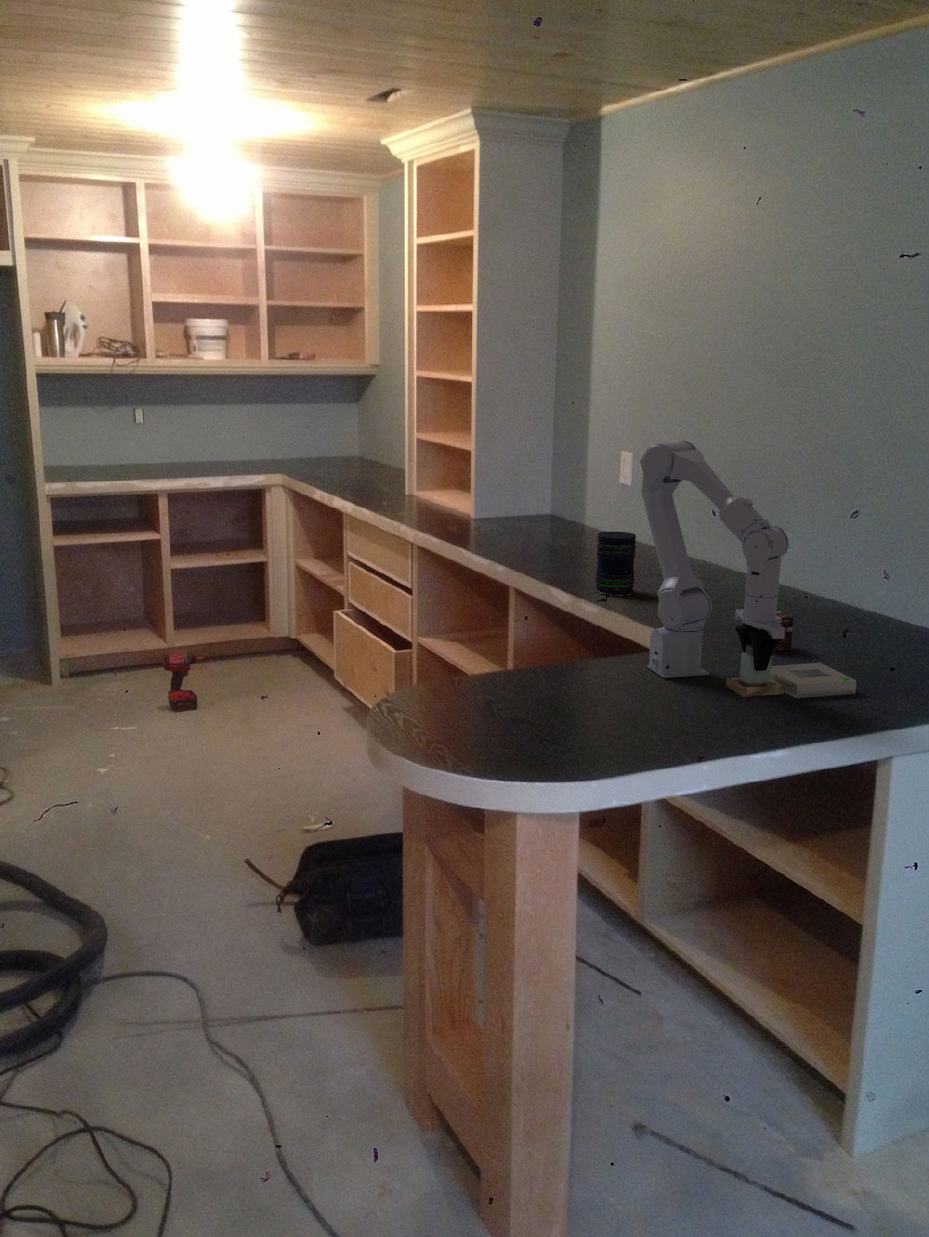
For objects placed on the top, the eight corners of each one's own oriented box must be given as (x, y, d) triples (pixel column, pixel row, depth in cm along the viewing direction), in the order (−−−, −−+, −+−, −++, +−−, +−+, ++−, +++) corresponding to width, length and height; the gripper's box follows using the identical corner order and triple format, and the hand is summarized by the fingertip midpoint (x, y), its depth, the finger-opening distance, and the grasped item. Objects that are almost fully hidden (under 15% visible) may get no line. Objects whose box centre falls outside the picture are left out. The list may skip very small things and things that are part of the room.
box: (765, 653, 228) (768, 618, 226) (750, 645, 233) (753, 611, 232) (791, 651, 229) (794, 616, 228) (776, 643, 235) (779, 610, 233)
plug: (747, 683, 200) (750, 648, 199) (739, 678, 203) (742, 644, 202) (769, 682, 201) (772, 647, 200) (761, 677, 204) (764, 643, 203)
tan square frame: (742, 696, 199) (743, 688, 198) (725, 686, 205) (726, 678, 204) (783, 694, 200) (784, 686, 200) (765, 683, 207) (765, 675, 206)
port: (796, 698, 198) (797, 683, 198) (762, 679, 209) (763, 665, 209) (855, 693, 201) (856, 679, 200) (819, 675, 212) (820, 661, 212)
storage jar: (641, 594, 280) (643, 536, 277) (606, 597, 277) (609, 538, 273) (621, 587, 289) (624, 530, 286) (588, 589, 286) (590, 532, 282)
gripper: (803, 602, 192) (796, 677, 196) (761, 585, 206) (756, 655, 209) (766, 604, 191) (760, 679, 194) (727, 586, 204) (722, 657, 208)
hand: (755, 667), depth 202 cm, fingers closed on plug, 3 cm apart
